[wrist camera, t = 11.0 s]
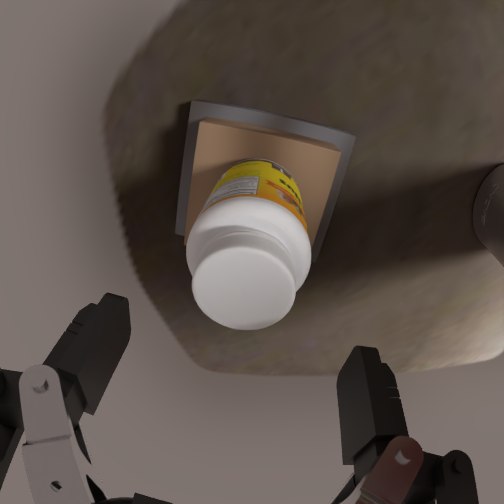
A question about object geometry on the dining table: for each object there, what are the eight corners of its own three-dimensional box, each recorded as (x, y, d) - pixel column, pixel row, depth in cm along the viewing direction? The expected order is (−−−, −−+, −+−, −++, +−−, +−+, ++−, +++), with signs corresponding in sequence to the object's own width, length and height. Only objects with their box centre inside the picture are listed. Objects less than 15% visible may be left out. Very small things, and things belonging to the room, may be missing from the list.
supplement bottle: (307, 225, 21) (326, 334, 12) (229, 241, 22) (200, 351, 14) (289, 146, 19) (302, 210, 10) (204, 167, 20) (146, 245, 11)
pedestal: (351, 133, 22) (367, 144, 18) (313, 254, 28) (319, 284, 24) (196, 99, 22) (179, 103, 18) (179, 226, 27) (163, 252, 23)
